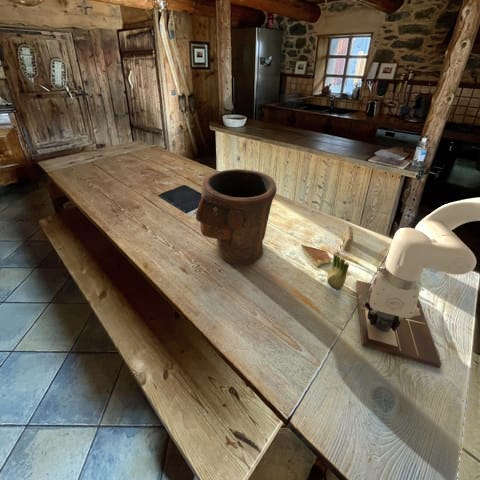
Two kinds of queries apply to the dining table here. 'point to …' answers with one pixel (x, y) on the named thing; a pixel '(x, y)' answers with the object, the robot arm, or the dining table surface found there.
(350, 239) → the tan figurine
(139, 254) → the dining table surface
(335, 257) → the fennel bulb
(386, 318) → the slate stone
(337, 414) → the dining table surface
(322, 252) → the shard
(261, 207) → the clay pot
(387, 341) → the game board
